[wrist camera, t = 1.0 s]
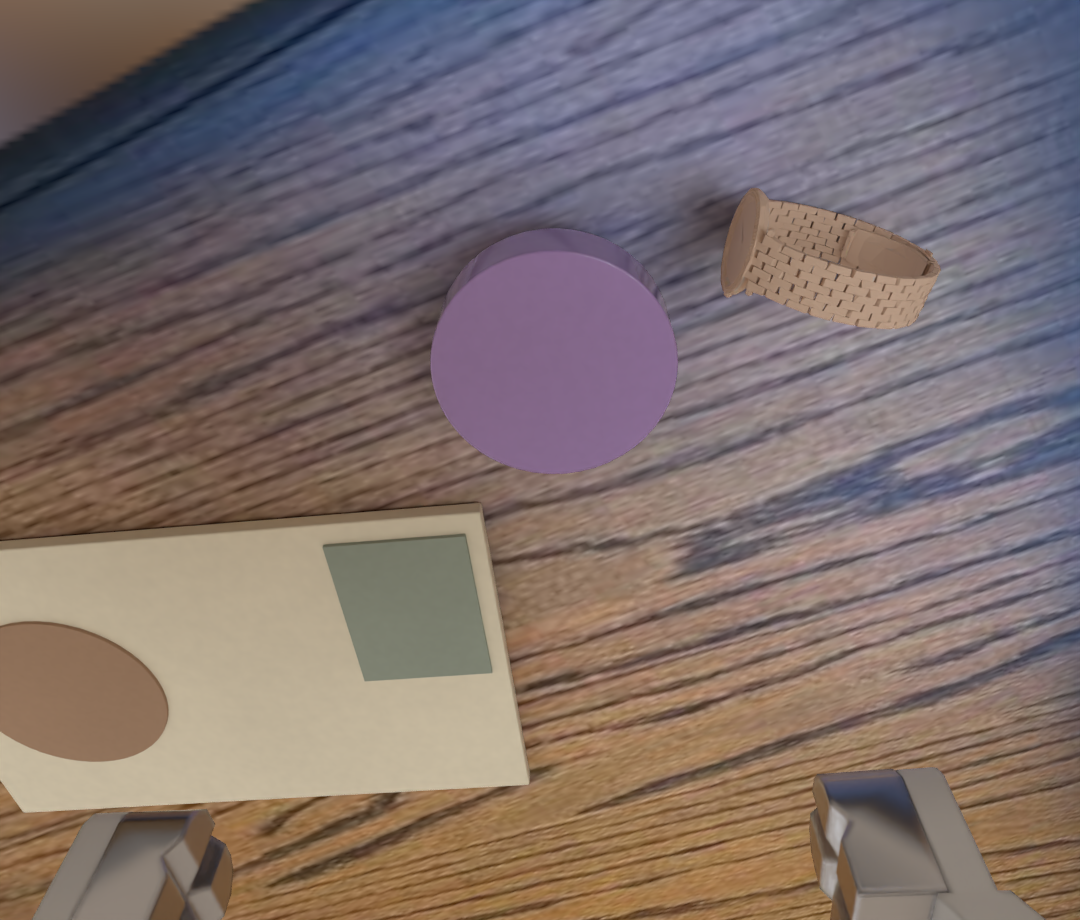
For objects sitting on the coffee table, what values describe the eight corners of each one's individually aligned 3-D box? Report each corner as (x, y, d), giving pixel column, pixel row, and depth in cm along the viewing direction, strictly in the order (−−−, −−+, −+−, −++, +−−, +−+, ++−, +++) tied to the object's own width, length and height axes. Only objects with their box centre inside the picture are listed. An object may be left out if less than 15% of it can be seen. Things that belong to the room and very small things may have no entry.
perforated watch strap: (736, 162, 22) (779, 221, 18) (909, 201, 22) (992, 266, 18) (704, 261, 23) (737, 337, 19) (867, 295, 24) (935, 376, 19)
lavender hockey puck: (424, 226, 23) (408, 264, 20) (662, 202, 22) (675, 237, 20) (461, 429, 26) (451, 483, 24) (668, 411, 26) (680, 464, 23)
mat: (-144, 551, 29) (-160, 565, 29) (481, 501, 28) (479, 515, 27) (30, 801, 37) (21, 816, 36) (530, 773, 35) (529, 788, 35)
